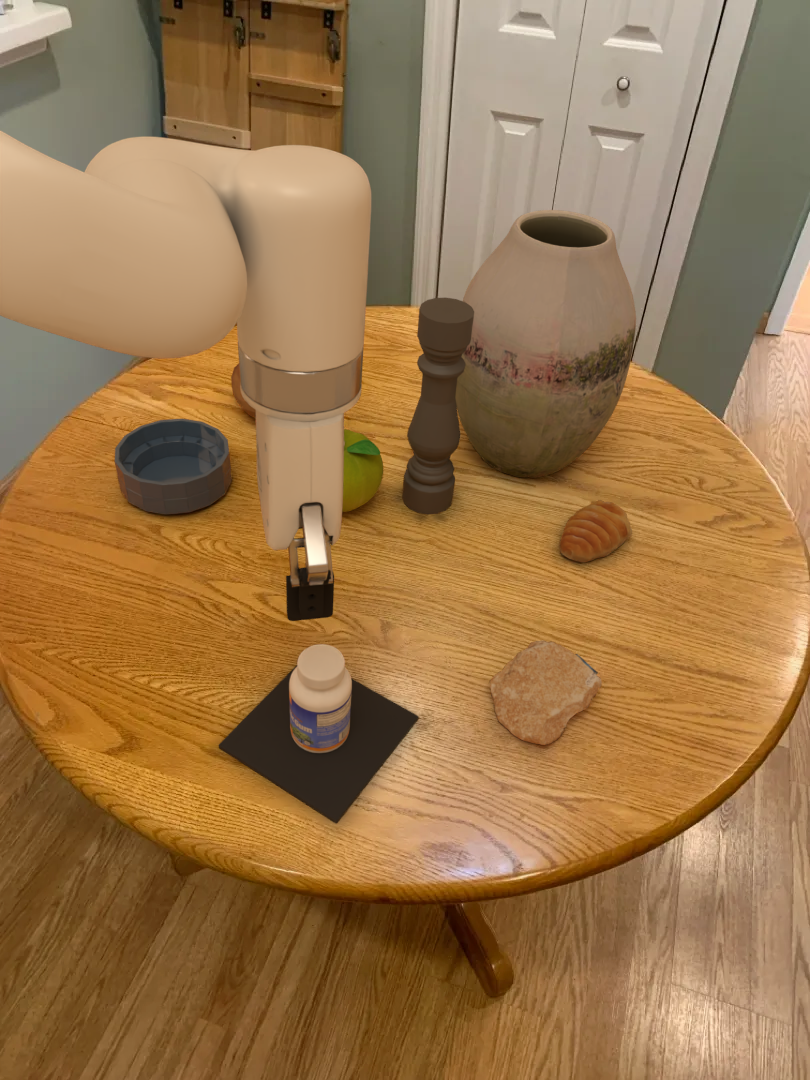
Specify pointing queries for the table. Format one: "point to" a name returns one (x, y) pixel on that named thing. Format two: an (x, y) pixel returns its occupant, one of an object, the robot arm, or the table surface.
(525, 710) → the stone
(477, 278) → the vase
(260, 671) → the table surface
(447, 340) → the candle holder
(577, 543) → the pastry
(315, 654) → the pill bottle
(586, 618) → the table surface
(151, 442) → the bowl
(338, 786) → the mat
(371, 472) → the fruit
